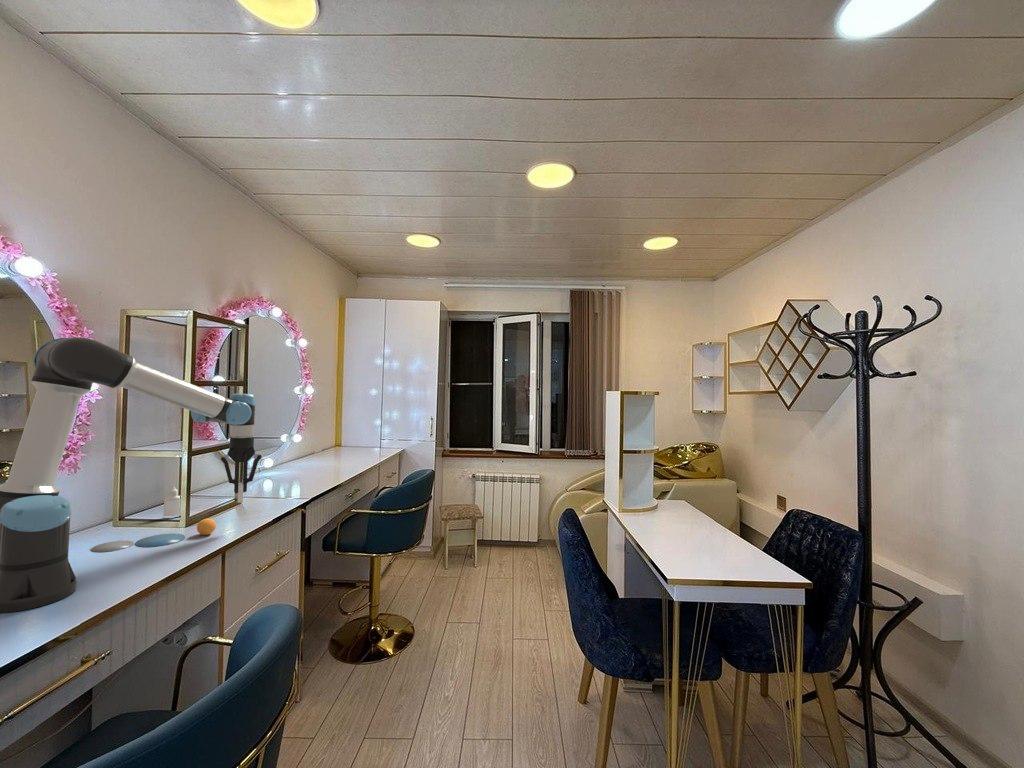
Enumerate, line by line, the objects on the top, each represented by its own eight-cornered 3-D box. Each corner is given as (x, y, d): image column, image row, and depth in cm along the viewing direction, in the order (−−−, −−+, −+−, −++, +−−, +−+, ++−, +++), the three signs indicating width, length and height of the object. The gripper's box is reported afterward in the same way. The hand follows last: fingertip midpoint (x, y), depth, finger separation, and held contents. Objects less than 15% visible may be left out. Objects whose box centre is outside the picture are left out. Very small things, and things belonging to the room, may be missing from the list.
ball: (206, 537, 153) (206, 521, 153) (192, 536, 154) (193, 520, 154) (219, 532, 158) (220, 517, 158) (206, 531, 159) (206, 515, 159)
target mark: (158, 548, 141) (158, 548, 141) (124, 544, 144) (124, 544, 144) (194, 536, 154) (194, 535, 154) (162, 532, 156) (162, 531, 156)
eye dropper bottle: (177, 518, 172) (179, 487, 172) (161, 519, 171) (162, 487, 171) (183, 515, 176) (185, 485, 177) (167, 516, 175) (168, 485, 175)
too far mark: (108, 553, 136) (108, 552, 136) (82, 550, 138) (82, 549, 138) (141, 542, 146) (141, 542, 146) (116, 539, 148) (116, 539, 148)
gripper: (261, 434, 169) (259, 497, 168) (220, 436, 161) (218, 501, 161) (263, 436, 162) (261, 501, 162) (220, 438, 155) (218, 506, 155)
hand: (240, 501), depth 162 cm, fingers closed
